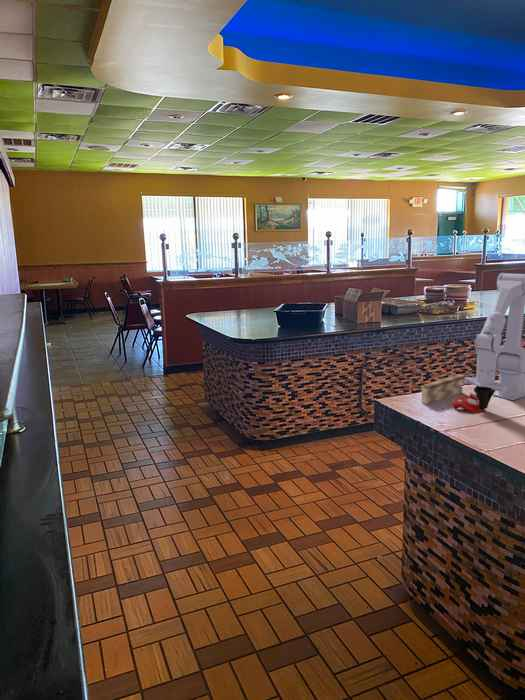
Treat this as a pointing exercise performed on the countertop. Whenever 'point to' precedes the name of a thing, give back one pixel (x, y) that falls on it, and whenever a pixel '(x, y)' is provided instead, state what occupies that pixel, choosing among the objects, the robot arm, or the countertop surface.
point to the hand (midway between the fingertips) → (483, 408)
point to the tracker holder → (468, 403)
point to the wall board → (442, 388)
